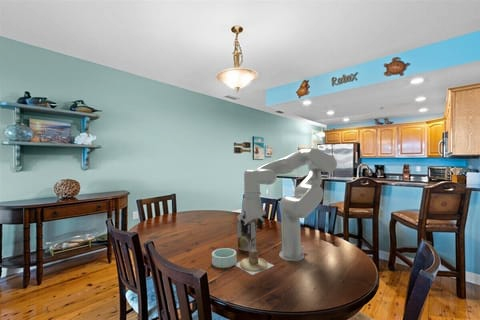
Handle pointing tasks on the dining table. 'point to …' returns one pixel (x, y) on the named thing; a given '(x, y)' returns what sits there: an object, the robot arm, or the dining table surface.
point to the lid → (253, 262)
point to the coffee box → (247, 236)
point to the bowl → (224, 257)
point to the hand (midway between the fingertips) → (252, 230)
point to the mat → (254, 271)
